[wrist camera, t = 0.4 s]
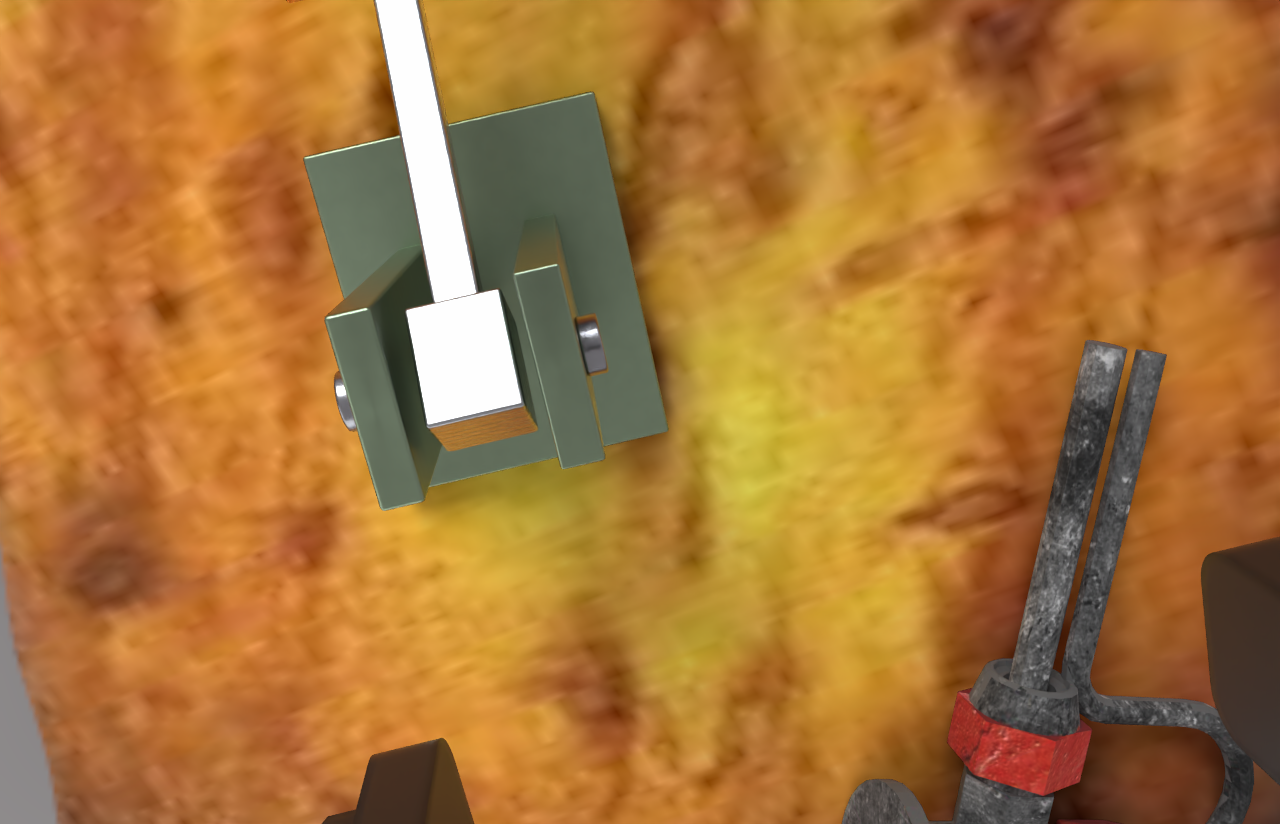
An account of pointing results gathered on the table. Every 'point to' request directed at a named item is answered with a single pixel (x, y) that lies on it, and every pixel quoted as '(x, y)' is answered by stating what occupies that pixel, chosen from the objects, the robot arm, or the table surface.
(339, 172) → the bracket
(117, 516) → the table surface
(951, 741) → the valve
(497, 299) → the lever
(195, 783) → the table surface
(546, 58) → the table surface
